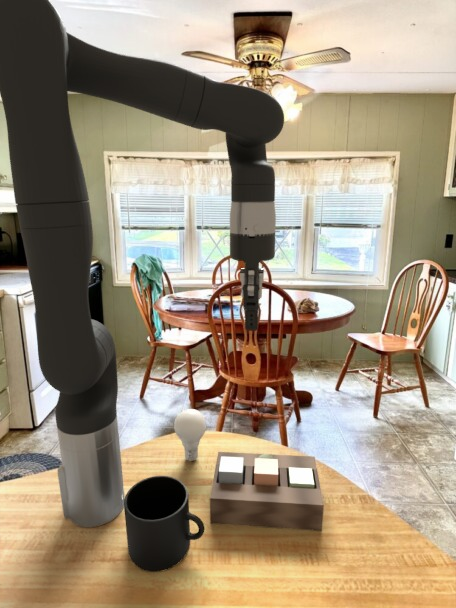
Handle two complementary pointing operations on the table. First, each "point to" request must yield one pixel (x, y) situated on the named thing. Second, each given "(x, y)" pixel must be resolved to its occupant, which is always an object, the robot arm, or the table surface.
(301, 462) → the console
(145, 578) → the table surface
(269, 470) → the terracotta button
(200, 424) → the lightbulb
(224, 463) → the slate button
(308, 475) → the sage button
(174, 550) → the mug
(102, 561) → the table surface
